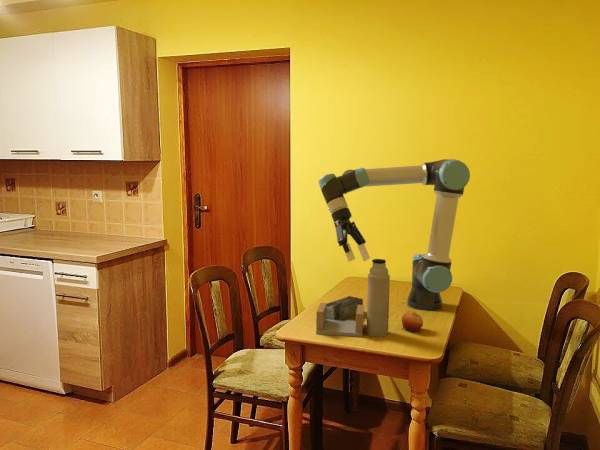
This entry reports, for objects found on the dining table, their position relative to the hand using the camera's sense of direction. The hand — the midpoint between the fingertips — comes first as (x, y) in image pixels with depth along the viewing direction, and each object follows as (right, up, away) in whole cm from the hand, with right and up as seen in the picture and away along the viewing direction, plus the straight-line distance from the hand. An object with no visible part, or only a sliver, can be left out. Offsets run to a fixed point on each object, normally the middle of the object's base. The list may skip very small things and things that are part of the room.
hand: (359, 260), depth 200 cm
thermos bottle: (+6, -27, -7) cm, 29 cm away
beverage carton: (-6, -24, +14) cm, 29 cm away
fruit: (+20, -27, -3) cm, 33 cm away
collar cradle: (-8, -26, -3) cm, 27 cm away
